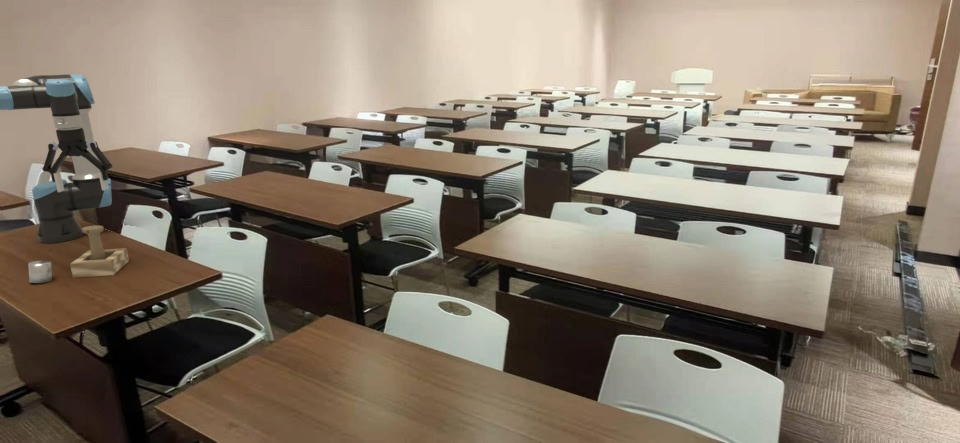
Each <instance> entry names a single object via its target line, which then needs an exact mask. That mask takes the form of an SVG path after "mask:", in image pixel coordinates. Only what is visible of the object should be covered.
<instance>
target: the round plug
mask: <svg viewBox="0 0 960 443" xmlns="http://www.w3.org/2000/svg"><path fill="white" fill-rule="evenodd" d="M27 265H28V278H29V280H28V281H29V283H32V284H43V283H49V282H51V281H52V280H53V275H52V274H53V273H52V271H53V270H52V261H50V260H36V261H35V260H34V261H30V262H28V263H27Z"/></svg>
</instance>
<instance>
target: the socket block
mask: <svg viewBox="0 0 960 443" xmlns="http://www.w3.org/2000/svg"><path fill="white" fill-rule="evenodd" d="M104 252H105V257H106V259H103V260H93V259H92V255H91V249H90V250H87V251H85V253H83V254H82V255H81V256H79V257H78V258H76V259H75V260H73V261H72V262H71V263H69V266H70V270H71V275H72V279H75V278H76V279H77V278H88V277H90V278H91V277H101V276H102V277H103V276H114V275H115V274H116V273H118V272H119V271H120V270H121V269H122V268H123V267H124V266H125V265H126V264H128V263H129V261H130V258H129V253H128V249H127V247H123V248H110V249H109V248H108V249H104Z"/></svg>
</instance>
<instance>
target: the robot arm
mask: <svg viewBox="0 0 960 443" xmlns="http://www.w3.org/2000/svg"><path fill="white" fill-rule="evenodd" d="M95 103H96V101H95V99H94V95H93V93H92V90H91V87H90V85H89V82H88V80H87V77H85V75H83V74H73V73H70V74H69V73H68V74H50V75H49V74H47V75H43V74H41V75H39V74H38V75H32V76H29V77H24V78H21V79H18V80H16V81H14V82H13V83H12V84H11V85H2V86H0V111H13V110H28V109H29V110H31V109H50V111H51V116H52V120H53V124H54V128H55V129H56V131H55V134H56V137H57V141H58V143H56V142H51V143H48V145H47V150H48V152H47V155H46V158H45V162H44V164H43V167H42V171H43V172H47V173H50V177H51V180H49V181H46V182H42V183H39V184H36V185H35V186H33V188H32V191H31V192H32V193H31V194H32V196H33V197H32V199H33V201H34V205H35V209H36V213H37V217H38V223H39V225H38V228H37V229H38V232H37V240H38V242H39V243H42V244H56V243H63V242H68V241H71V240H75V239H78V238H80V237H83V235H84V233H83V232H82V228H83V227H82V226H81V224H80V223H79V222H78V220H77V219H76V217H75V214H74V211H82V210H90V209H96V208H97V209H100V208H105V207H109V206H111V205H112V203H113V202H112V201H113V199H112V198H113V197H112V180H111V178H110V177H109V175H108V170H110V169H112V168H113V164H112V163H111V162H110V160H109V159H108V158H107V156H106V155H105V154H104V152H103V151H102V150H101V149H100V147H99V146H98V142H97V141H95V139H94V134H93V129H92V125H91V119H90V114H89V113H90V111H91V110H92V105H95ZM58 149H59V150H60V151H61V152H60V154H59V155H58V157H57V159H56V160H55V157H56V153H57V150H58ZM67 157H71V159H72V164H73V168H74V169H73V170H74V173H75V174H74V175H73V176H72V178H71V179H72V182H71V181H70V182H68V181H67V180H66V179H63V178H62V175H61V171H58V170H59V168H60V167H61V165H62V164H63V162H65V160H66V159H67ZM54 160H55V162H54ZM53 162H54V163H53Z"/></svg>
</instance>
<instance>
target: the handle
mask: <svg viewBox="0 0 960 443" xmlns="http://www.w3.org/2000/svg"><path fill="white" fill-rule="evenodd" d="M81 228H82V232H83V234H85V235H87V236H88V242H89V248H90V250H91V255H92V259H93V260H103V259H106V257H105V252H104V250H105V248H104V245H103V241H102V237H101V233H102V232H104V230H105V229H104V226H103V225H87V226H84V227H81Z"/></svg>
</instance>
